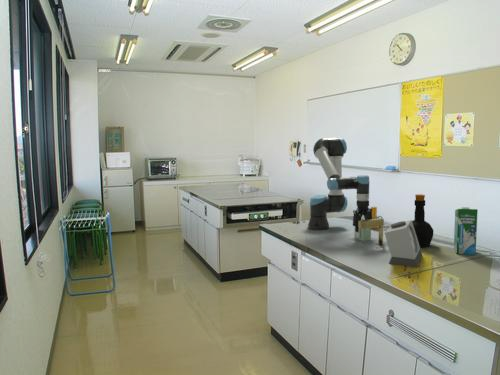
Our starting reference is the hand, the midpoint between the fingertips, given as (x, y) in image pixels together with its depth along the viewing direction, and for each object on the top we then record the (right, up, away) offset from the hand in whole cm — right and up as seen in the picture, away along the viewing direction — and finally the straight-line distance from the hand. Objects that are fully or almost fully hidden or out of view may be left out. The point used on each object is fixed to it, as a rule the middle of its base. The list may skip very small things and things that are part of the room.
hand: (362, 235), depth 238 cm
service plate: (+3, -3, -6) cm, 7 cm away
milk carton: (+47, -5, -31) cm, 56 cm away
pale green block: (0, -2, 0) cm, 2 cm away
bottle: (+29, -4, -14) cm, 33 cm away
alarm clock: (+10, -7, -40) cm, 42 cm away
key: (0, -3, -15) cm, 16 cm away
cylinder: (+17, +2, +31) cm, 36 cm away
